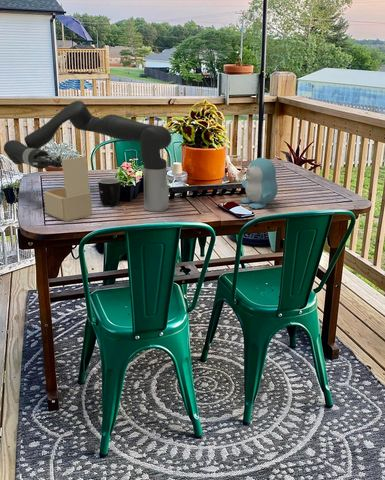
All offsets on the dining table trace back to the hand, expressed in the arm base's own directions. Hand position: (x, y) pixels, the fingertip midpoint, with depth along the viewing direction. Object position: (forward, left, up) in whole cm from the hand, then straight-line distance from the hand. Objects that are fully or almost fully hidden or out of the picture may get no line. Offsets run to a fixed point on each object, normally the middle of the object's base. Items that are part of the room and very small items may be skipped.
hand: (59, 165), depth 190 cm
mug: (-12, -17, -19) cm, 28 cm away
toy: (-68, -47, -19) cm, 84 cm away
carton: (-4, +1, -19) cm, 19 cm away
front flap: (-10, +4, -3) cm, 11 cm away
